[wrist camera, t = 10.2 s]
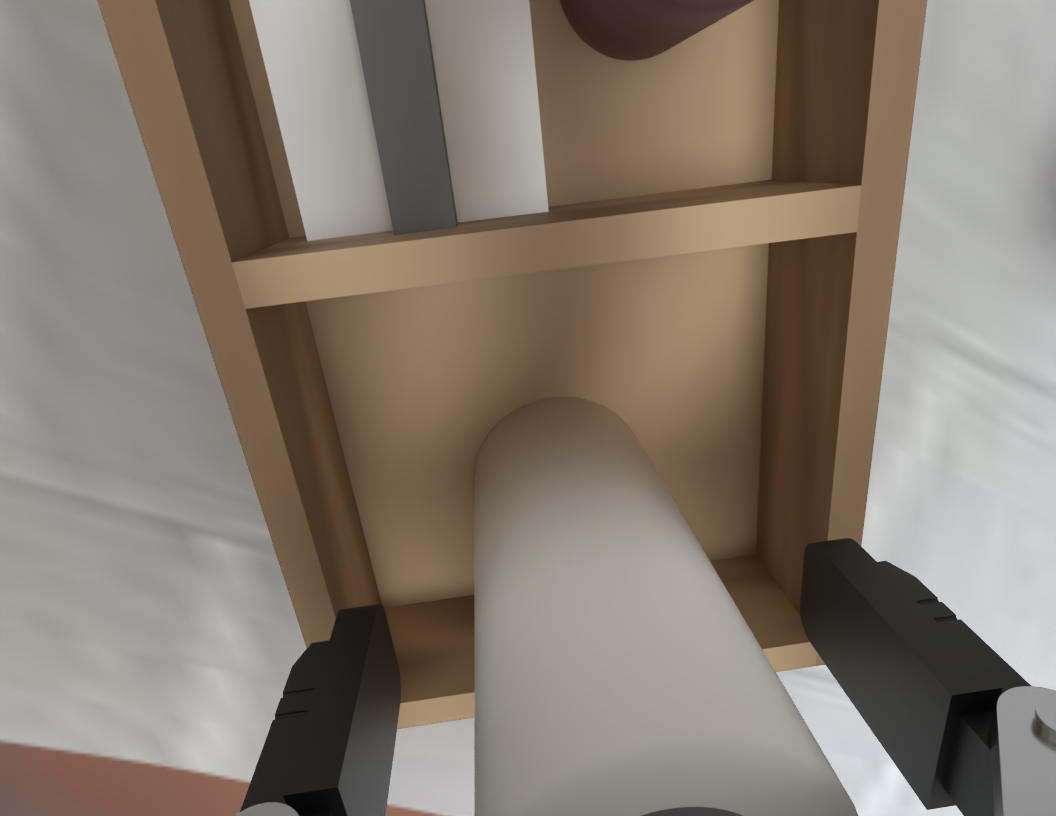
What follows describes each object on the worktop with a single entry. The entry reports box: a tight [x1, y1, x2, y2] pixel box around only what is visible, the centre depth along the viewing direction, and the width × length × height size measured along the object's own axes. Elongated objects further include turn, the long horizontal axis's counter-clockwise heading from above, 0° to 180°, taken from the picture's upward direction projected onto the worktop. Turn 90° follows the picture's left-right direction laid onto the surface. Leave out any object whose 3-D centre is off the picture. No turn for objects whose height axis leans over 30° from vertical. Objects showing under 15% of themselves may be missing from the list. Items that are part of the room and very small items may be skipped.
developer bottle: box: [474, 397, 858, 816], centre depth 11 cm, size 5×5×12 cm
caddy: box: [98, 0, 927, 729], centre depth 11 cm, size 13×19×10 cm, turn 6°
